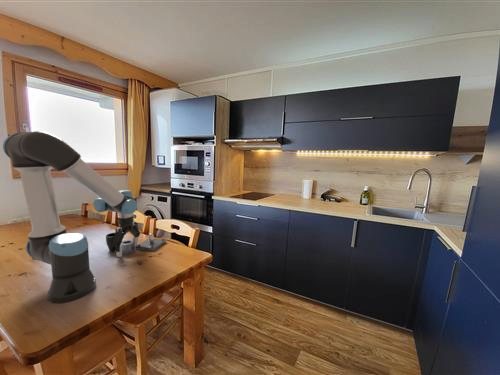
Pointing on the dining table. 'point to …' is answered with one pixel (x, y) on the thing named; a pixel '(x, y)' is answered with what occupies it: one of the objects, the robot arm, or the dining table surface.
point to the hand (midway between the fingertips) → (127, 251)
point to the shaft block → (150, 243)
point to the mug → (110, 241)
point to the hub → (128, 247)
